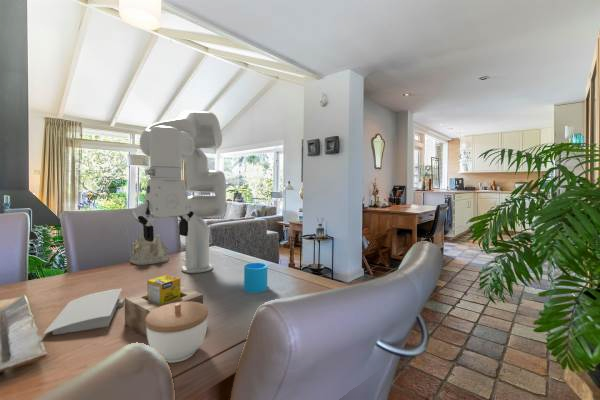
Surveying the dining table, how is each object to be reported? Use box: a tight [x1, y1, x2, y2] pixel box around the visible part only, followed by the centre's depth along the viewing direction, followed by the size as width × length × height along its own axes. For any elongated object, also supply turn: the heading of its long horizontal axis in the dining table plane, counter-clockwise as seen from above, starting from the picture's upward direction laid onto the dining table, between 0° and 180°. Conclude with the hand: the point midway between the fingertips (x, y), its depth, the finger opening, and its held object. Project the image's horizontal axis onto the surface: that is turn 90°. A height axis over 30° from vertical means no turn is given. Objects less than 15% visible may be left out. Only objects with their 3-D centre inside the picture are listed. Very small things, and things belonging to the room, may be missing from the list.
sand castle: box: [129, 232, 171, 266], centre depth 140 cm, size 16×16×15 cm
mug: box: [243, 262, 268, 294], centre depth 106 cm, size 12×8×8 cm
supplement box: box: [147, 274, 181, 306], centre depth 79 cm, size 6×6×11 cm
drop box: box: [124, 285, 204, 338], centre depth 79 cm, size 14×14×7 cm
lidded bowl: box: [145, 301, 209, 364], centre depth 65 cm, size 13×13×11 cm
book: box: [42, 287, 125, 336], centre depth 82 cm, size 15×23×4 cm, turn 24°
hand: (167, 238), depth 79 cm, fingers open, 9 cm apart
